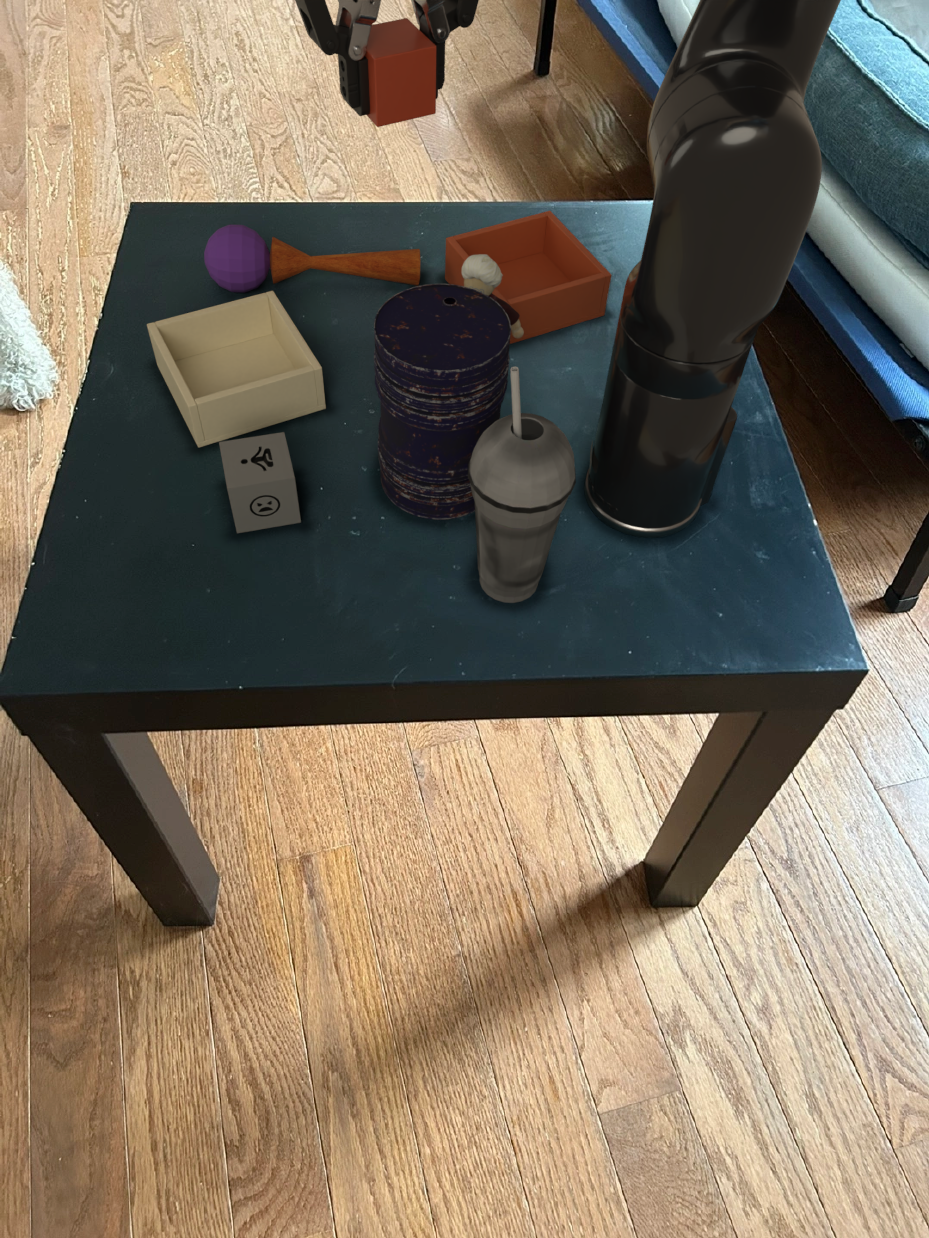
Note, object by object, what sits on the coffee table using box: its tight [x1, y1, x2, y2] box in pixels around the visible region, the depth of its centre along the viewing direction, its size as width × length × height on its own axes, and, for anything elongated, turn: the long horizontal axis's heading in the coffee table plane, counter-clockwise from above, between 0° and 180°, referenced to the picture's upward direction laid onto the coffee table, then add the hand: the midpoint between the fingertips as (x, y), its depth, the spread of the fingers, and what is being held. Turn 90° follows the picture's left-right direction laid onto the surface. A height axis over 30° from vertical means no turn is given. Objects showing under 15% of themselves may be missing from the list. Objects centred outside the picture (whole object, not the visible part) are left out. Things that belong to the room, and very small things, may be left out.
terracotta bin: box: [444, 210, 613, 345], centre depth 95 cm, size 11×11×4 cm
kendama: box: [203, 224, 421, 294], centre depth 94 cm, size 6×6×20 cm
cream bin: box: [146, 290, 327, 448], centre depth 86 cm, size 11×11×4 cm
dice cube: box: [218, 431, 302, 534], centre depth 77 cm, size 5×5×5 cm
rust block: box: [365, 17, 437, 128], centre depth 66 cm, size 4×4×4 cm
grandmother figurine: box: [462, 254, 524, 339], centre depth 84 cm, size 8×4×13 cm, turn 91°
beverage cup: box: [468, 366, 577, 604], centre depth 68 cm, size 7×7×20 cm
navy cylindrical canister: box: [373, 283, 511, 521], centre depth 76 cm, size 10×10×15 cm
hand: (393, 101), depth 68 cm, fingers closed on rust block, 4 cm apart
